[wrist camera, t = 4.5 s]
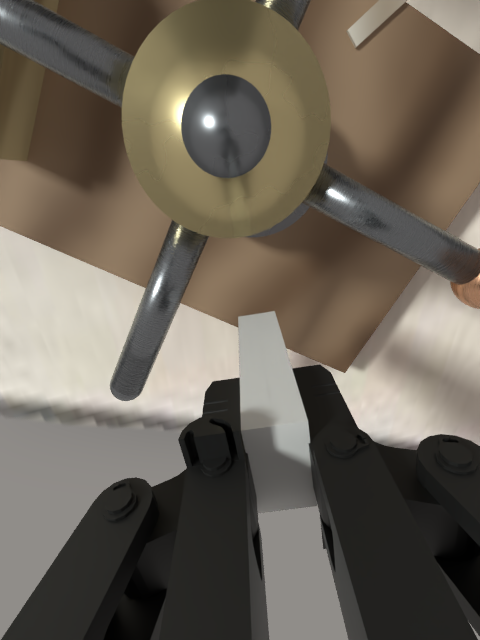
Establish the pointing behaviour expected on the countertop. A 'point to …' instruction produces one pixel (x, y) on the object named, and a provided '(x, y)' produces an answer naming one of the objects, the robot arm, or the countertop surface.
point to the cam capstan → (224, 144)
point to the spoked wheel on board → (312, 227)
